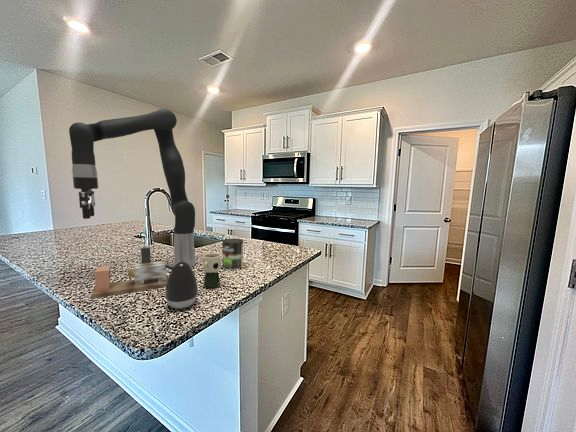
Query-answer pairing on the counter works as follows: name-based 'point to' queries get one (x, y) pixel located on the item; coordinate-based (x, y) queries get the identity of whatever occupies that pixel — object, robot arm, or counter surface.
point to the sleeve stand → (138, 280)
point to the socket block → (102, 278)
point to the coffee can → (232, 254)
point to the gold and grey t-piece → (145, 260)
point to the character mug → (211, 269)
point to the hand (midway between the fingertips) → (89, 217)
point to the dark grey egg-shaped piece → (181, 286)
